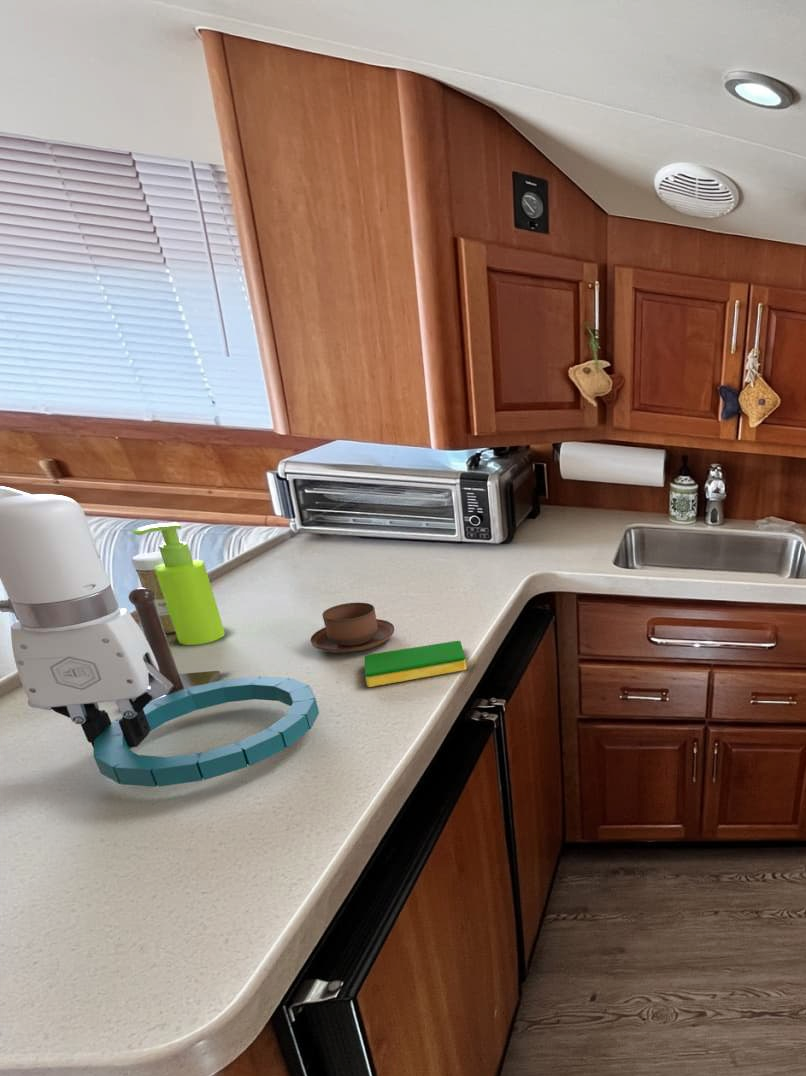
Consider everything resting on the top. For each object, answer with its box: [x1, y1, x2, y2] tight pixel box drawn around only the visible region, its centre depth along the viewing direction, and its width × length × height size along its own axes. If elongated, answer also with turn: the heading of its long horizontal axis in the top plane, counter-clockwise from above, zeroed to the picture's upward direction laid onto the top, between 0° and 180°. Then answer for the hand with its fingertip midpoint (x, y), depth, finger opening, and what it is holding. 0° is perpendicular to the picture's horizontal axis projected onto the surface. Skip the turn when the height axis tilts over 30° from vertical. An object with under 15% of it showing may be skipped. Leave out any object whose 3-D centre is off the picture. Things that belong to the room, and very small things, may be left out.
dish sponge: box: [364, 640, 468, 688], centre depth 104 cm, size 7×14×2 cm, turn 123°
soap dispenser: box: [131, 522, 226, 646], centre depth 104 cm, size 6×7×20 cm
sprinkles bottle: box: [131, 551, 176, 634], centre depth 107 cm, size 5×5×14 cm
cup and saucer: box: [310, 602, 395, 654], centre depth 109 cm, size 12×12×6 cm
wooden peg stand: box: [128, 587, 221, 700], centre depth 90 cm, size 8×8×16 cm
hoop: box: [92, 675, 320, 788], centre depth 81 cm, size 21×21×2 cm
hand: (122, 741), depth 78 cm, fingers closed on hoop, 2 cm apart
